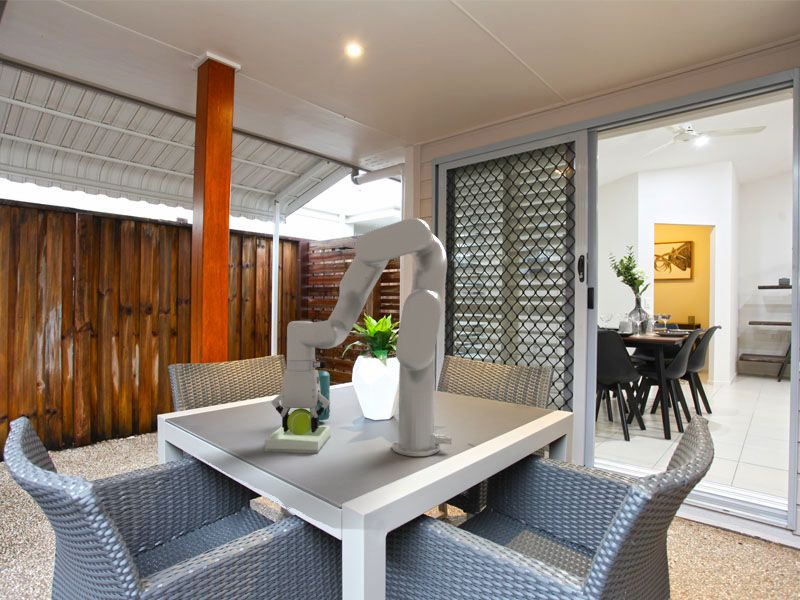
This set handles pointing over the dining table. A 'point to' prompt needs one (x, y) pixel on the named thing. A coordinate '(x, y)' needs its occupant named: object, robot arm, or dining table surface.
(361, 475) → the dining table surface
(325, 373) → the beverage bottle
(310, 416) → the tennis ball
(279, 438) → the tray
